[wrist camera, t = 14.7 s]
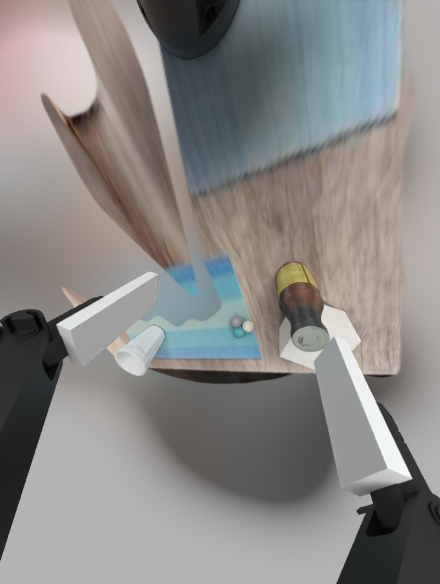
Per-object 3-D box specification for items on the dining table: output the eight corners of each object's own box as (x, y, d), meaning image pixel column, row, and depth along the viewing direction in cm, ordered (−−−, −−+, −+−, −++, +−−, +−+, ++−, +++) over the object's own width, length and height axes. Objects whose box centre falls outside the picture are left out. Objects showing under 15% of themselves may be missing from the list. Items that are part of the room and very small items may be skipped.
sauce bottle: (271, 279, 39) (266, 342, 22) (286, 254, 35) (294, 306, 18) (299, 292, 38) (315, 366, 21) (317, 268, 35) (352, 334, 18)
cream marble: (245, 316, 45) (243, 323, 43) (256, 320, 45) (254, 328, 42) (242, 325, 47) (239, 332, 44) (252, 328, 46) (251, 336, 44)
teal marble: (236, 322, 47) (234, 329, 44) (247, 326, 47) (245, 333, 44) (233, 330, 48) (231, 337, 46) (243, 334, 48) (241, 341, 46)
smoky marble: (233, 312, 46) (230, 319, 43) (244, 316, 45) (242, 323, 43) (230, 320, 47) (227, 327, 45) (240, 324, 47) (238, 331, 44)
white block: (296, 295, 38) (301, 320, 30) (344, 311, 37) (361, 341, 29) (279, 328, 43) (279, 356, 36) (319, 343, 42) (329, 375, 34)
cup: (144, 336, 62) (115, 367, 51) (144, 316, 56) (112, 344, 45) (169, 347, 60) (145, 381, 49) (172, 327, 55) (145, 359, 44)
